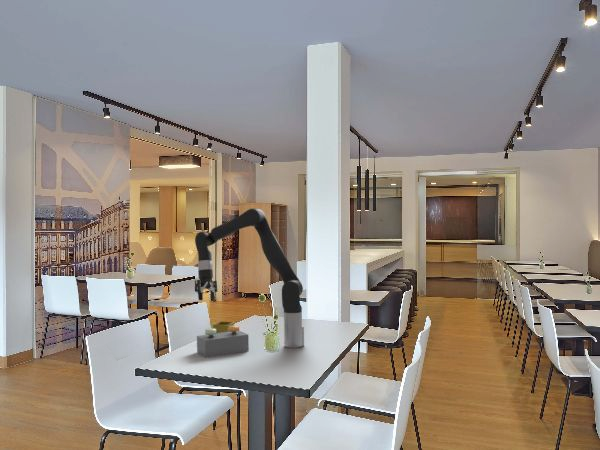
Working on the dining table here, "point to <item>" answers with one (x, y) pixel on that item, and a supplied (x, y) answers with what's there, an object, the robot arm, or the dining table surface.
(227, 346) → the block
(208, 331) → the sage button
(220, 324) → the flower pot
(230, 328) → the orange button
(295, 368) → the dining table surface
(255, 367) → the dining table surface
